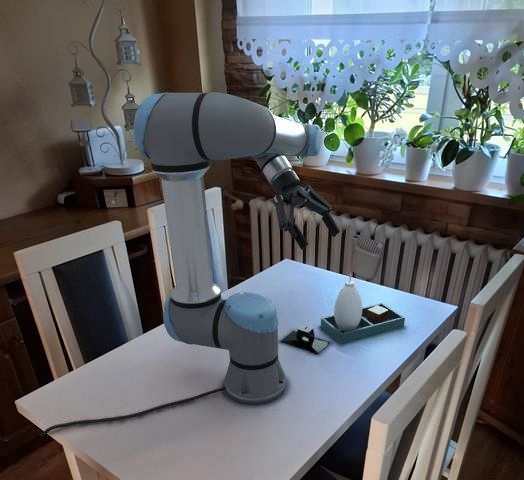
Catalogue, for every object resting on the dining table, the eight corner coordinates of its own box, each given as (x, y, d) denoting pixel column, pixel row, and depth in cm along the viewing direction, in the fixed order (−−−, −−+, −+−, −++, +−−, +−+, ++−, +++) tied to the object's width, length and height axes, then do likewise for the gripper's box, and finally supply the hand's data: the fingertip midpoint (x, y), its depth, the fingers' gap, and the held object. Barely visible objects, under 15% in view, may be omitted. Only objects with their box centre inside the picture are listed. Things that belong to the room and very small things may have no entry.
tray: (340, 344, 136) (341, 334, 135) (320, 327, 145) (320, 317, 143) (403, 327, 143) (405, 317, 142) (381, 312, 152) (382, 302, 151)
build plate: (330, 343, 137) (331, 329, 135) (317, 355, 132) (317, 340, 130) (293, 331, 144) (293, 317, 141) (279, 342, 139) (279, 328, 136)
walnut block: (377, 327, 143) (379, 314, 141) (366, 322, 146) (367, 309, 144) (387, 323, 146) (388, 309, 143) (375, 317, 149) (377, 305, 146)
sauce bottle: (362, 326, 144) (367, 269, 135) (357, 339, 138) (362, 280, 129) (336, 322, 147) (339, 266, 137) (330, 335, 141) (333, 277, 131)
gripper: (304, 177, 148) (341, 236, 146) (243, 194, 134) (283, 259, 132) (318, 161, 142) (356, 222, 140) (255, 177, 127) (298, 245, 126)
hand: (321, 240), depth 136 cm, fingers open, 13 cm apart
